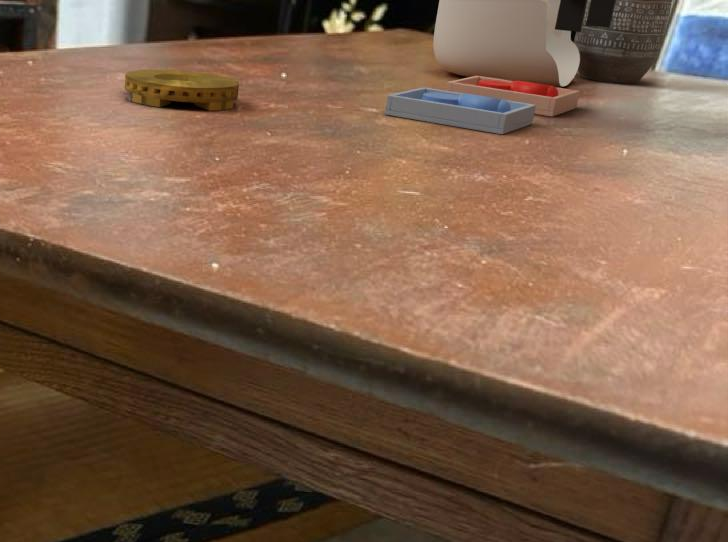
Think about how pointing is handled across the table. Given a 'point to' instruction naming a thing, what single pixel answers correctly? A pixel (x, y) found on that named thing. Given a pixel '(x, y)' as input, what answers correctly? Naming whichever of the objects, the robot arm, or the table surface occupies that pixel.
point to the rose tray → (518, 95)
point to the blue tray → (458, 112)
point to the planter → (623, 41)
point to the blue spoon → (470, 101)
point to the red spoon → (521, 87)
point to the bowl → (505, 41)
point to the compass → (181, 88)
